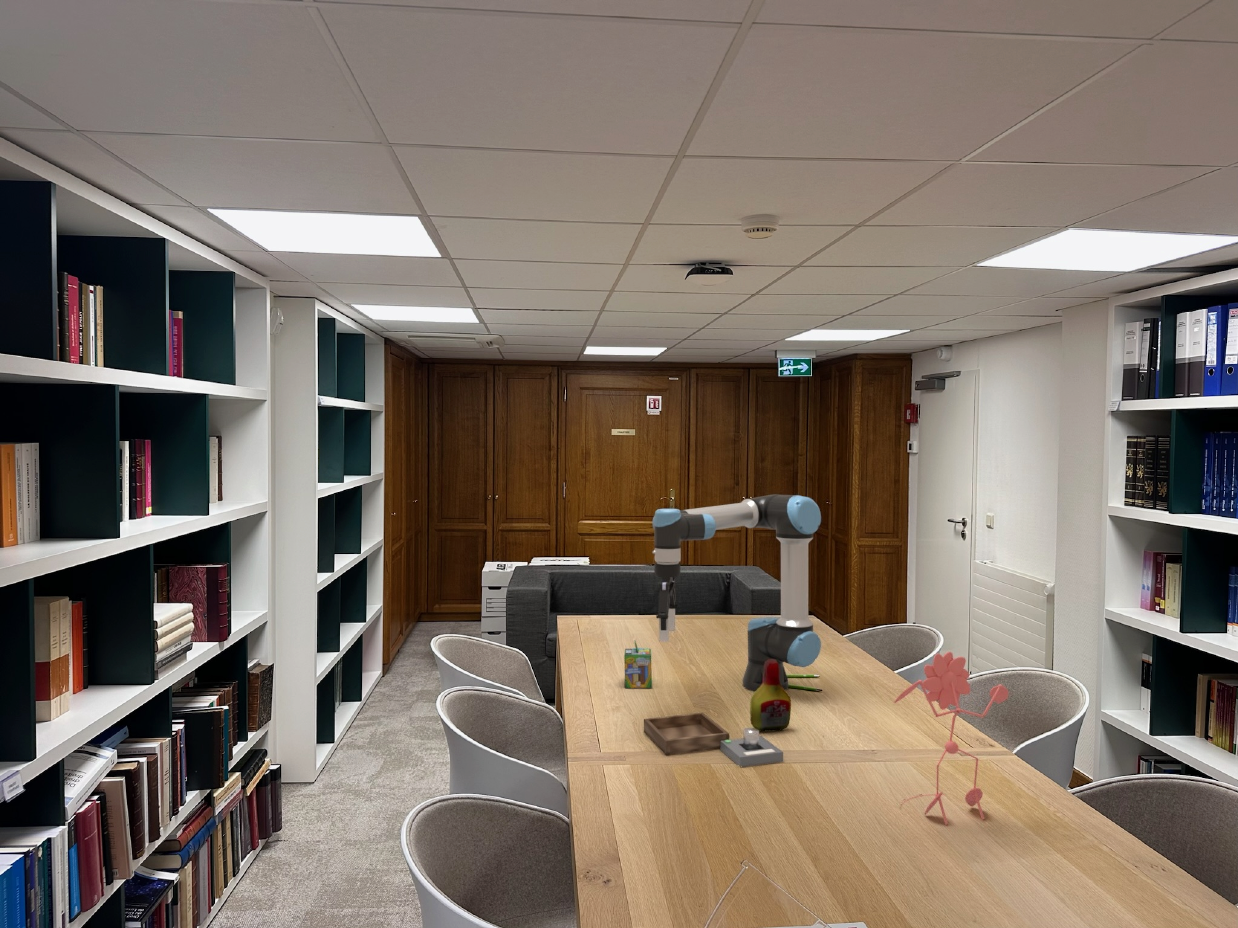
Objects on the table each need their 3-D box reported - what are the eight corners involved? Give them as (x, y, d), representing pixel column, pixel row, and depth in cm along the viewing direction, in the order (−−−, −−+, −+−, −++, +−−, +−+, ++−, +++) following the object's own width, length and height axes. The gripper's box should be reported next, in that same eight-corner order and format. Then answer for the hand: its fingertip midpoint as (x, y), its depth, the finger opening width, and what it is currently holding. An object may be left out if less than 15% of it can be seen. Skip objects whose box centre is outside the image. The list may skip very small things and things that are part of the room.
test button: (754, 743, 213) (754, 726, 213) (761, 748, 209) (761, 731, 209) (740, 745, 212) (740, 728, 212) (747, 750, 208) (747, 733, 208)
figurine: (1020, 816, 175) (1017, 654, 175) (915, 831, 168) (912, 663, 168) (972, 789, 190) (970, 640, 190) (874, 802, 183) (872, 647, 183)
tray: (702, 725, 233) (702, 712, 233) (729, 747, 216) (729, 733, 216) (643, 732, 228) (643, 718, 228) (666, 755, 211) (665, 740, 211)
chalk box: (651, 688, 269) (651, 644, 269) (624, 688, 269) (624, 644, 269) (651, 680, 278) (651, 638, 278) (625, 680, 279) (625, 638, 278)
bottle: (788, 725, 233) (788, 656, 233) (794, 732, 227) (794, 662, 227) (747, 726, 232) (747, 657, 232) (752, 734, 226) (752, 663, 226)
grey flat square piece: (761, 745, 218) (761, 734, 218) (783, 761, 206) (783, 750, 206) (720, 750, 214) (720, 739, 214) (740, 767, 203) (740, 755, 203)
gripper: (660, 556, 246) (660, 625, 247) (647, 568, 222) (647, 645, 222) (685, 557, 245) (685, 626, 245) (674, 569, 220) (674, 646, 221)
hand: (667, 635), depth 234 cm, fingers open, 13 cm apart
